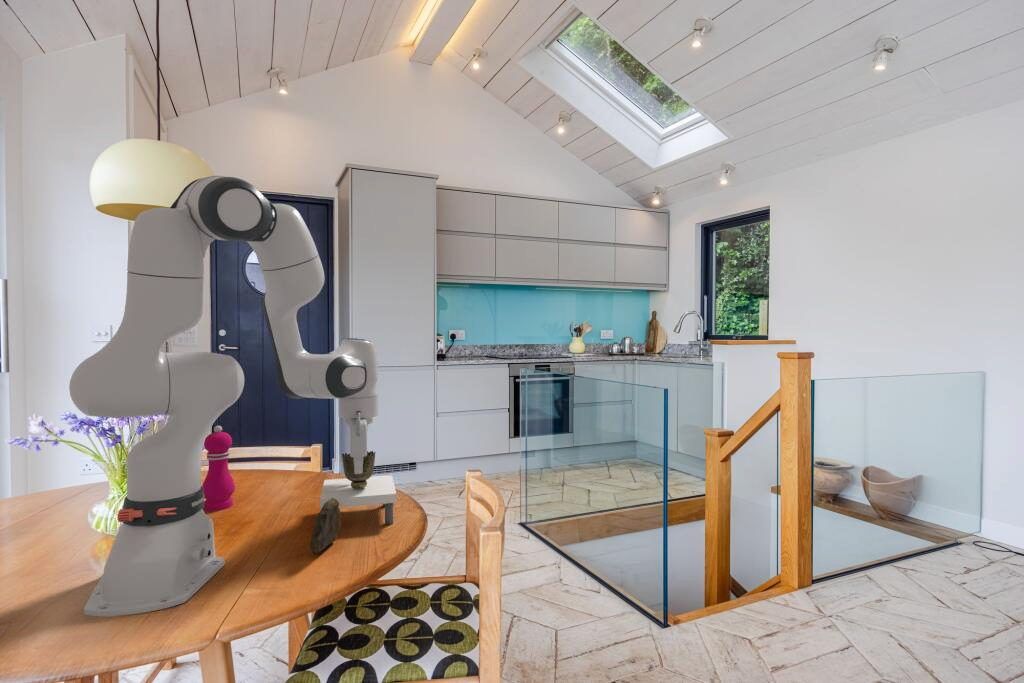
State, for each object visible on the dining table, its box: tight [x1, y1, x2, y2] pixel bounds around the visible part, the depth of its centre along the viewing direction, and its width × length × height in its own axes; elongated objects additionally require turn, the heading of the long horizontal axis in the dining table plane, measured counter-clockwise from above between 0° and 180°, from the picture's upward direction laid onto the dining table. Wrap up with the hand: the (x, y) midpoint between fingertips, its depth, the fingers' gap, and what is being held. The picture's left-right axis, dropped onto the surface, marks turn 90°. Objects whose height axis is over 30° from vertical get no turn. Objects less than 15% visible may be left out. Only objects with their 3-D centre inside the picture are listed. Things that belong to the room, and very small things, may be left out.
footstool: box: [319, 474, 397, 526], centre depth 125 cm, size 16×16×7 cm
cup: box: [341, 450, 376, 489], centre depth 123 cm, size 8×7×8 cm
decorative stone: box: [309, 498, 342, 554], centre depth 105 cm, size 10×9×4 cm
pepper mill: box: [201, 425, 236, 512], centre depth 131 cm, size 7×7×20 cm
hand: (358, 468), depth 124 cm, fingers open, 8 cm apart
